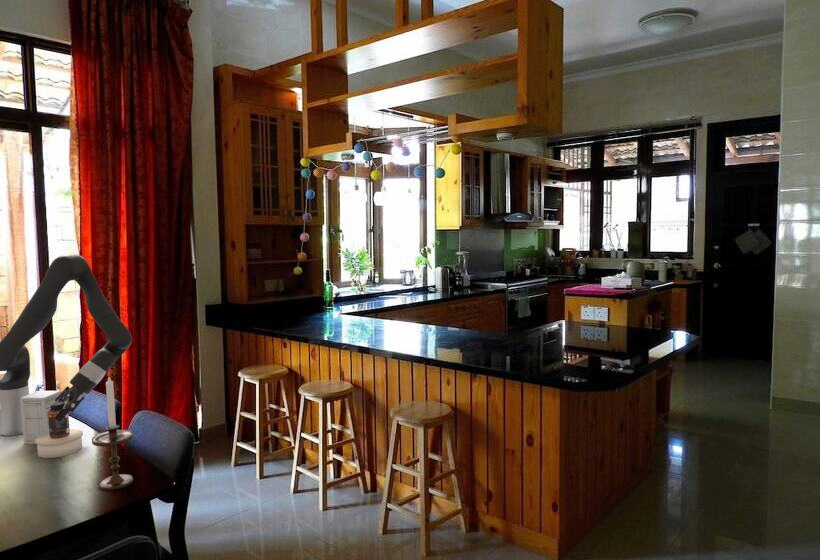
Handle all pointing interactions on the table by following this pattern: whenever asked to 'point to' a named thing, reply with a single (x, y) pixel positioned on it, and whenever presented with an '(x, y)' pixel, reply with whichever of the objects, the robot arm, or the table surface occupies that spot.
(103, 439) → the candlestick
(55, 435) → the supplement bottle
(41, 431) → the supplement box
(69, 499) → the table surface
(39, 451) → the podium
